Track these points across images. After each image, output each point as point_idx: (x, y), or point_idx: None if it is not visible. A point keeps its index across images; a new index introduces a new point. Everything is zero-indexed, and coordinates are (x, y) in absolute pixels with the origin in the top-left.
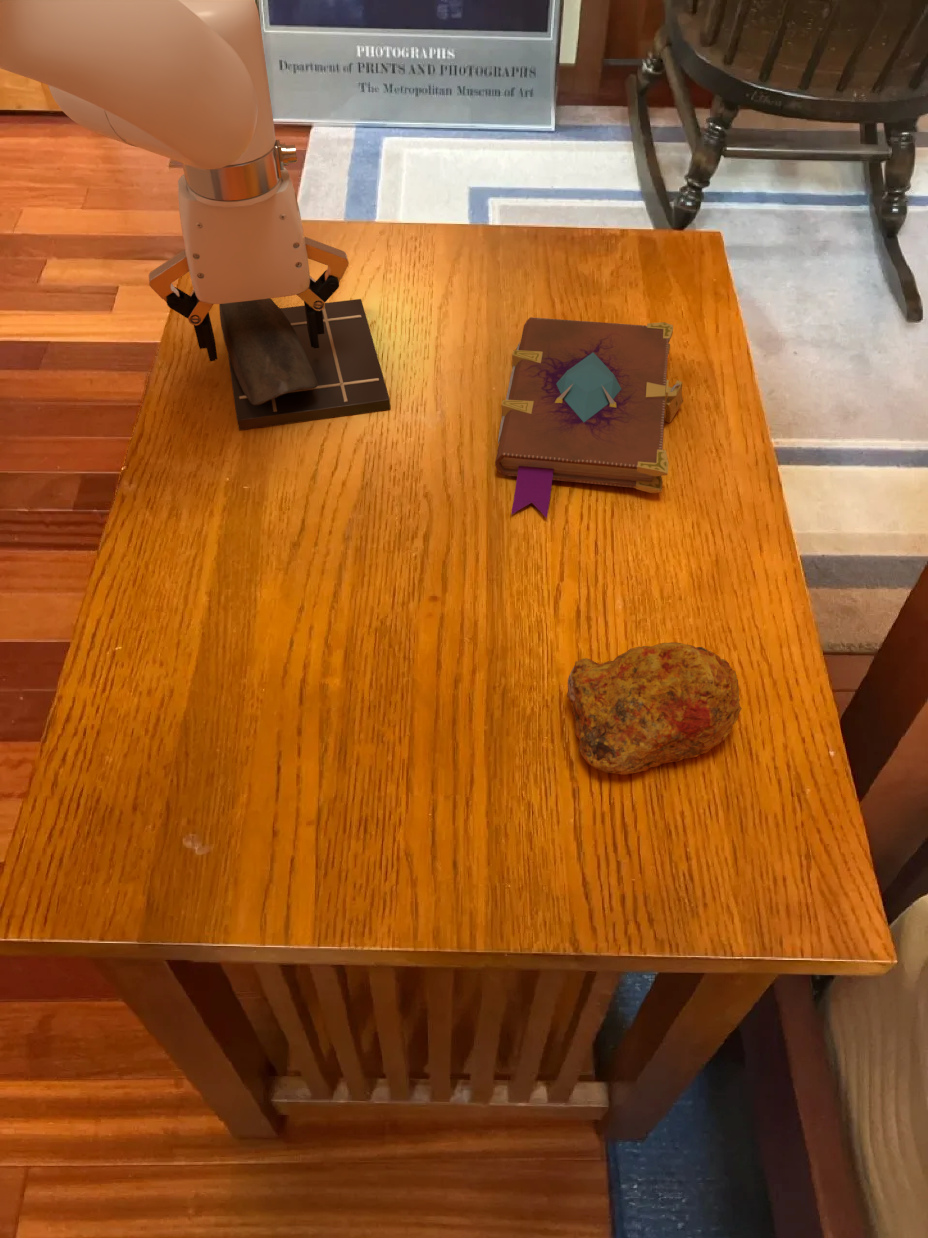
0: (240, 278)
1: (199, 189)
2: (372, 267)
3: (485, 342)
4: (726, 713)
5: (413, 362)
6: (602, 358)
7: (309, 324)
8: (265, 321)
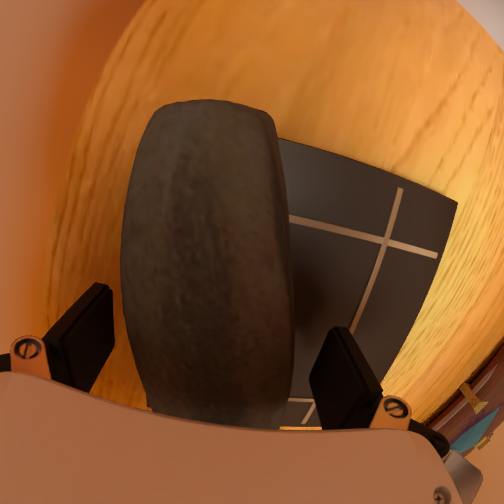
0: None
1: None
2: (484, 104)
3: (488, 330)
4: None
5: (424, 348)
6: (497, 412)
7: (321, 421)
8: (229, 382)
